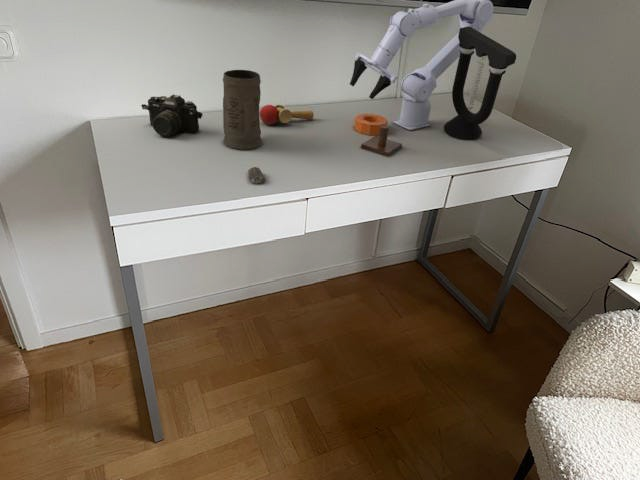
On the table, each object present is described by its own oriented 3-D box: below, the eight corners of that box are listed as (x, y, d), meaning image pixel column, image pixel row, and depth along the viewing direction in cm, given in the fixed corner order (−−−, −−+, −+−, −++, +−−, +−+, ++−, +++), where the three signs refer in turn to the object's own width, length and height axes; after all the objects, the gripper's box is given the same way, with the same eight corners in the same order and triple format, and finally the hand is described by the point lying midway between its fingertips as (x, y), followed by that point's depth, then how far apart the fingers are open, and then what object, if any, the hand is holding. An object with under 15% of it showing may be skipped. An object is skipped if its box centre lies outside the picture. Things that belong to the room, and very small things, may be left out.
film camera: (135, 137, 140) (130, 102, 135) (146, 122, 150) (142, 89, 145) (199, 141, 141) (197, 106, 136) (206, 125, 152) (204, 93, 146)
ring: (371, 121, 165) (372, 111, 164) (392, 131, 159) (393, 121, 157) (348, 126, 160) (349, 116, 158) (368, 137, 154) (370, 126, 152)
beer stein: (253, 153, 137) (255, 79, 127) (217, 147, 138) (216, 73, 129) (269, 137, 150) (272, 69, 140) (235, 132, 152) (236, 64, 142)
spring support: (431, 120, 166) (451, 29, 145) (460, 113, 170) (483, 23, 150) (470, 152, 153) (498, 57, 132) (501, 144, 157) (532, 50, 136)
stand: (375, 139, 153) (378, 118, 149) (401, 147, 149) (405, 126, 145) (360, 147, 146) (363, 126, 143) (388, 156, 142) (391, 135, 139)
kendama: (303, 118, 167) (254, 116, 158) (308, 101, 163) (258, 98, 154) (313, 130, 162) (262, 129, 153) (318, 113, 158) (267, 110, 149)
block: (260, 172, 127) (260, 166, 126) (265, 183, 123) (265, 176, 122) (246, 173, 126) (246, 167, 125) (251, 184, 122) (251, 178, 121)
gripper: (363, 35, 146) (338, 76, 150) (402, 60, 142) (375, 101, 146) (370, 42, 153) (346, 81, 157) (408, 66, 148) (382, 106, 152)
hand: (360, 91), depth 152 cm, fingers open, 7 cm apart
